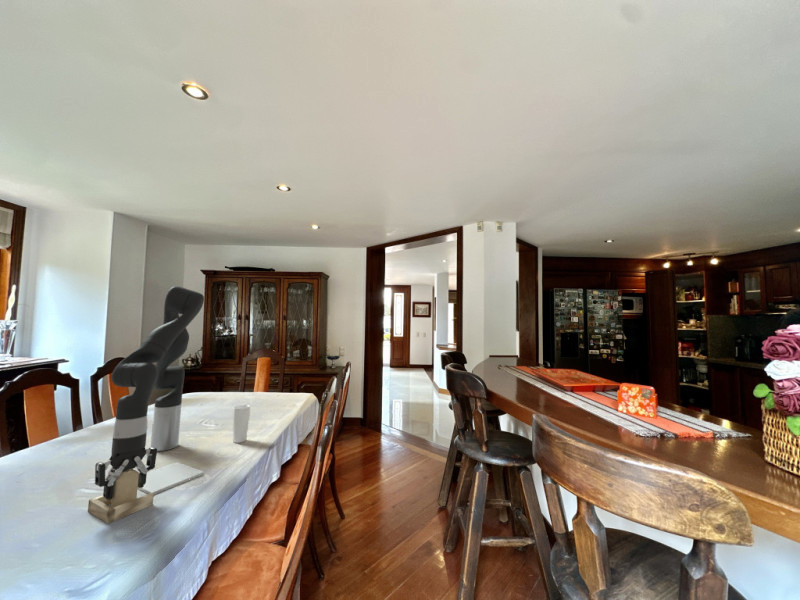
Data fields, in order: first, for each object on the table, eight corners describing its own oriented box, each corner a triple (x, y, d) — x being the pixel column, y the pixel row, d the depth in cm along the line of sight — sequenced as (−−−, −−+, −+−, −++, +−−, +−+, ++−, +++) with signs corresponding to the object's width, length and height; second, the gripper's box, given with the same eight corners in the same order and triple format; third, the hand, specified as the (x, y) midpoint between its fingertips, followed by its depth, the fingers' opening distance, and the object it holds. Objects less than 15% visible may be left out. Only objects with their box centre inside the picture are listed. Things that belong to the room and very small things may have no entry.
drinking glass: (241, 444, 139) (243, 409, 140) (227, 443, 140) (230, 408, 142) (251, 439, 146) (253, 405, 147) (238, 437, 147) (240, 404, 148)
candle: (120, 501, 93) (124, 466, 94) (140, 501, 94) (143, 465, 95) (105, 512, 88) (108, 474, 89) (126, 512, 88) (129, 474, 89)
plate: (124, 482, 104) (124, 480, 104) (176, 464, 118) (176, 462, 119) (151, 495, 97) (151, 492, 97) (203, 474, 111) (204, 471, 111)
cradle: (108, 523, 83) (109, 511, 83) (87, 511, 88) (88, 499, 89) (152, 504, 92) (153, 493, 93) (131, 494, 97) (132, 484, 98)
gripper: (151, 424, 101) (146, 479, 99) (91, 437, 88) (85, 501, 86) (165, 428, 97) (160, 485, 96) (105, 442, 84) (98, 509, 83)
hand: (124, 492), depth 91 cm, fingers open, 7 cm apart
